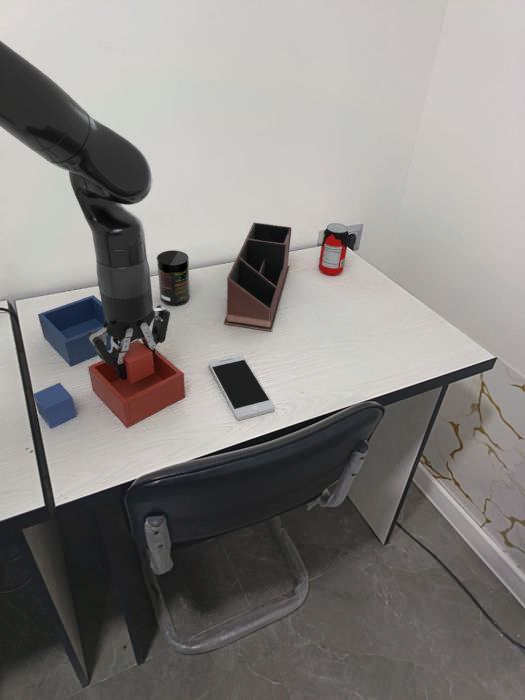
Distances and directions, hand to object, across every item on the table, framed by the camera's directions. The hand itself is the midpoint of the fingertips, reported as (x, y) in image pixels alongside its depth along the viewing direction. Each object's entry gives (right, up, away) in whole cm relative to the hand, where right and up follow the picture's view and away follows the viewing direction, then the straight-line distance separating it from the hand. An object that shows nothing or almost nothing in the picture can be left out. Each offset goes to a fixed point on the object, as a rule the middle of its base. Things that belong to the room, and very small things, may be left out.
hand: (136, 370), depth 84 cm
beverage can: (+39, +24, +43) cm, 63 cm away
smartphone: (+17, -3, +6) cm, 19 cm away
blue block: (-13, -7, -2) cm, 15 cm away
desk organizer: (+21, +17, +33) cm, 42 cm away
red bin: (0, -4, +3) cm, 6 cm away
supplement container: (+2, +15, +29) cm, 32 cm away
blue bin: (-14, +5, +15) cm, 21 cm away
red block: (0, 0, 0) cm, 0 cm away
